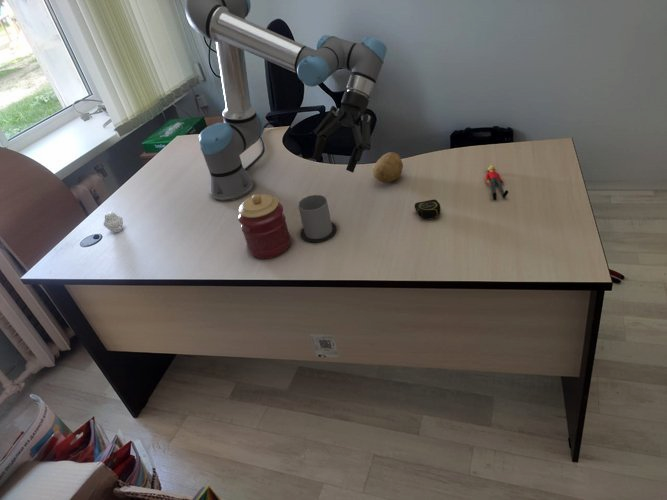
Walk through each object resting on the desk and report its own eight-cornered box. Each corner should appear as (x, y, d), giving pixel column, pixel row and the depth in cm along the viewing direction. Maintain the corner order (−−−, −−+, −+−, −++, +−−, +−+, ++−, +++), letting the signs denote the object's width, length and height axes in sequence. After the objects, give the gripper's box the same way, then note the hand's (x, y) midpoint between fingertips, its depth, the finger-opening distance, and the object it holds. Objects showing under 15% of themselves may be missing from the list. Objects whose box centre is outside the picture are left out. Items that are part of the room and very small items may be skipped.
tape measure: (437, 207, 143) (436, 196, 141) (443, 219, 138) (443, 208, 136) (414, 211, 144) (414, 200, 141) (420, 223, 138) (419, 212, 136)
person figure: (493, 187, 139) (485, 158, 153) (488, 198, 142) (481, 169, 156) (510, 191, 139) (501, 161, 153) (505, 202, 142) (496, 172, 156)
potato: (408, 168, 165) (406, 147, 160) (397, 190, 155) (396, 168, 150) (381, 167, 168) (379, 147, 164) (369, 188, 159) (366, 167, 154)
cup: (336, 223, 144) (330, 195, 138) (327, 239, 138) (321, 211, 132) (310, 222, 147) (304, 194, 141) (300, 237, 141) (293, 209, 135)
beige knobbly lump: (108, 229, 164) (99, 212, 160) (126, 222, 166) (117, 205, 161) (108, 237, 159) (99, 220, 155) (127, 231, 161) (118, 214, 157)
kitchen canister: (274, 264, 134) (258, 211, 123) (239, 254, 140) (222, 203, 129) (300, 237, 142) (287, 186, 131) (266, 229, 148) (252, 180, 138)
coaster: (297, 227, 146) (296, 226, 146) (331, 217, 148) (331, 216, 148) (305, 247, 138) (304, 245, 138) (341, 236, 139) (340, 235, 139)
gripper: (399, 106, 132) (372, 179, 135) (333, 92, 147) (310, 158, 149) (385, 97, 126) (357, 173, 129) (318, 83, 141) (294, 152, 143)
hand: (332, 165), depth 139 cm, fingers open, 13 cm apart
